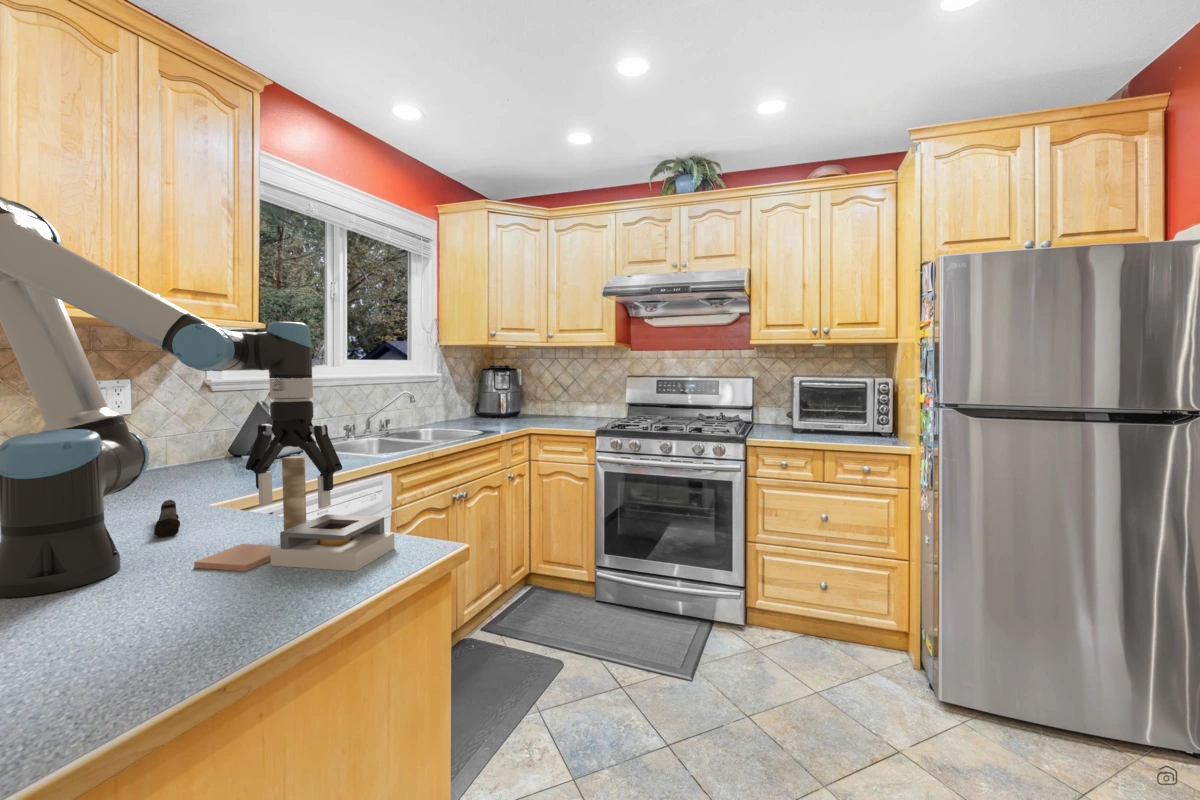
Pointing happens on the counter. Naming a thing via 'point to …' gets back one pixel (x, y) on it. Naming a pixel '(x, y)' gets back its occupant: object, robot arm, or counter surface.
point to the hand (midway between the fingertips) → (295, 505)
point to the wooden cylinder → (294, 491)
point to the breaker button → (333, 541)
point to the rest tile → (237, 558)
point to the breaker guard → (307, 552)
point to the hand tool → (167, 520)
